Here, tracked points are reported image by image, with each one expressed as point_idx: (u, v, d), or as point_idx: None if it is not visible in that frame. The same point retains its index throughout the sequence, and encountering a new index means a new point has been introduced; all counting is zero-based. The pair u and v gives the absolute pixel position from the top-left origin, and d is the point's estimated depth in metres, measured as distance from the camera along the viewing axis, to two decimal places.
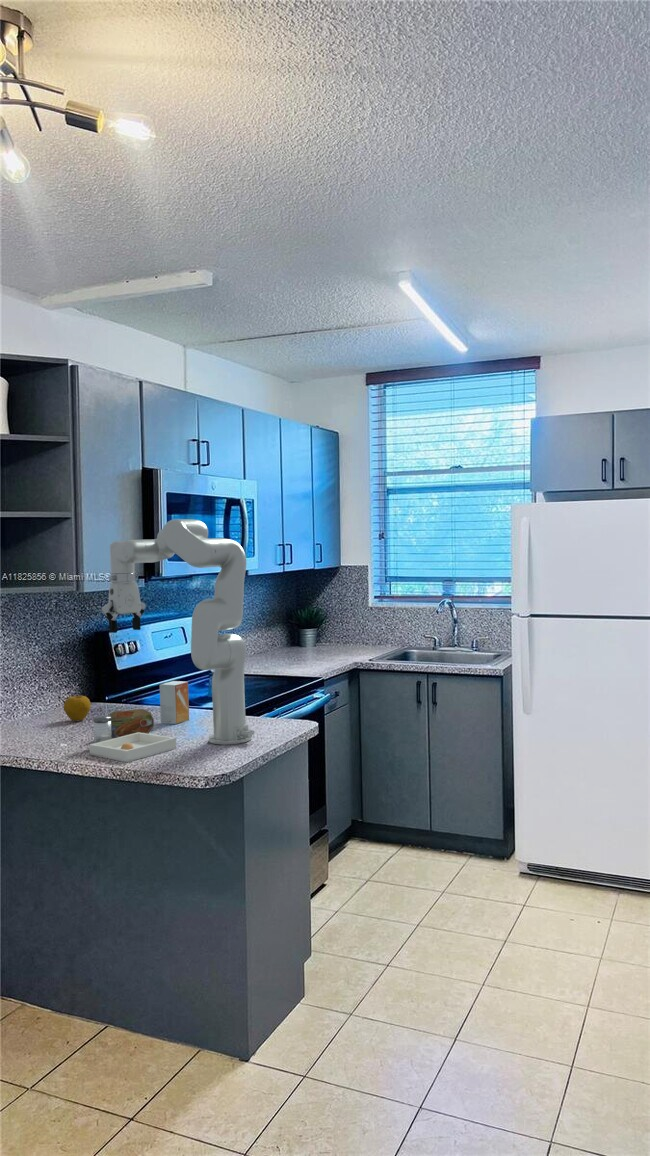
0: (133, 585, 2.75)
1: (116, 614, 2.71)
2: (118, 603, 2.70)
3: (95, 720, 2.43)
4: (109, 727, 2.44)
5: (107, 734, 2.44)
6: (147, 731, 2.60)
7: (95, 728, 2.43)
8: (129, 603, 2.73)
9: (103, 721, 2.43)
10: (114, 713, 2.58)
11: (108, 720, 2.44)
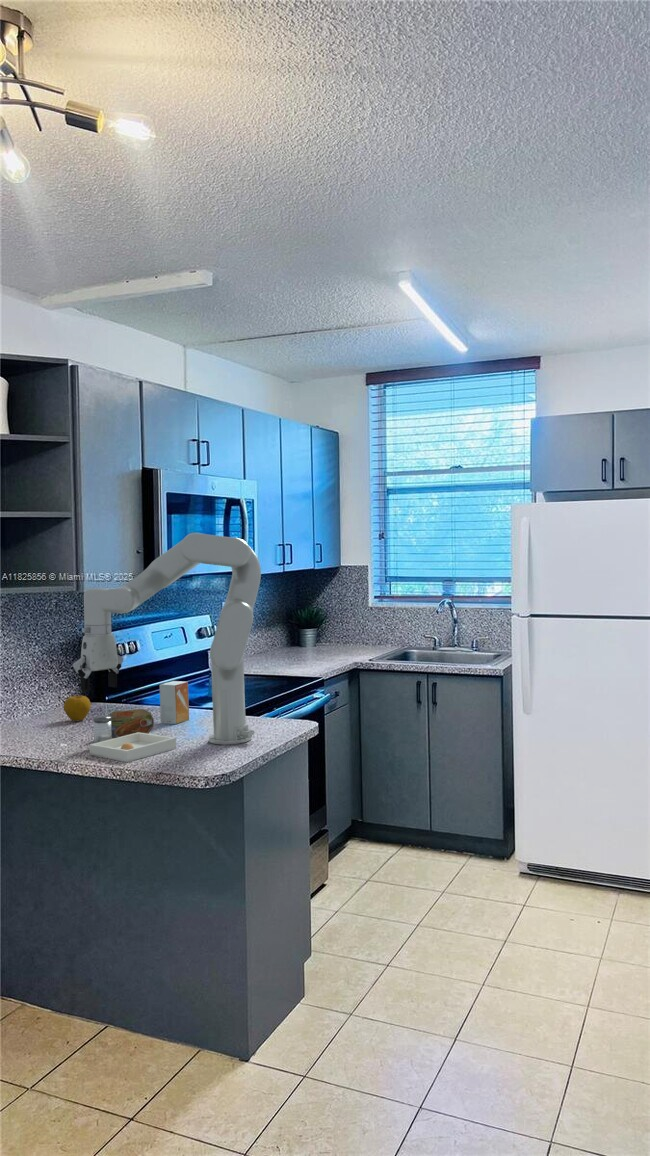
0: (110, 637, 2.45)
1: (89, 671, 2.40)
2: (91, 659, 2.40)
3: (95, 720, 2.43)
4: (109, 727, 2.44)
5: (107, 734, 2.44)
6: (147, 731, 2.60)
7: (95, 728, 2.43)
8: (104, 658, 2.43)
9: (103, 721, 2.43)
10: (114, 713, 2.58)
11: (108, 720, 2.44)
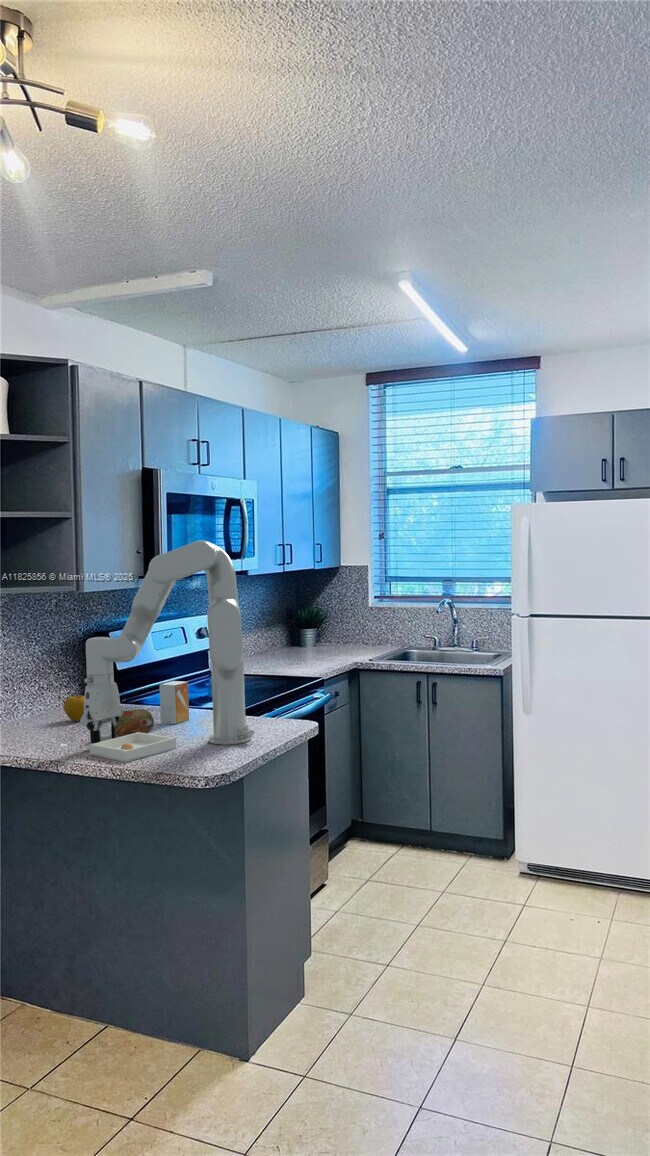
0: (112, 686, 2.45)
1: (96, 722, 2.42)
2: (94, 709, 2.40)
3: None
4: (109, 727, 2.44)
5: (107, 734, 2.44)
6: (147, 731, 2.60)
7: None
8: (107, 707, 2.43)
9: (103, 721, 2.43)
10: None
11: (108, 720, 2.44)
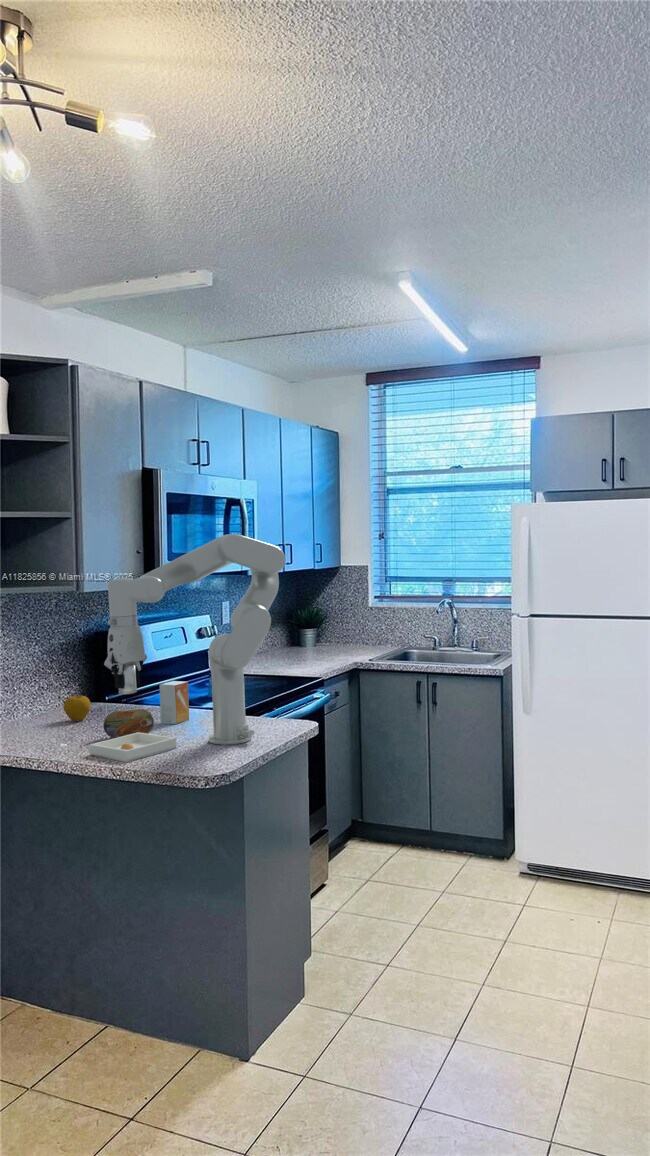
0: (136, 629, 2.37)
1: (121, 666, 2.34)
2: (119, 651, 2.32)
3: None
4: (134, 671, 2.36)
5: (131, 677, 2.36)
6: (147, 731, 2.60)
7: None
8: (131, 650, 2.35)
9: (127, 664, 2.35)
10: (114, 713, 2.58)
11: (132, 663, 2.36)
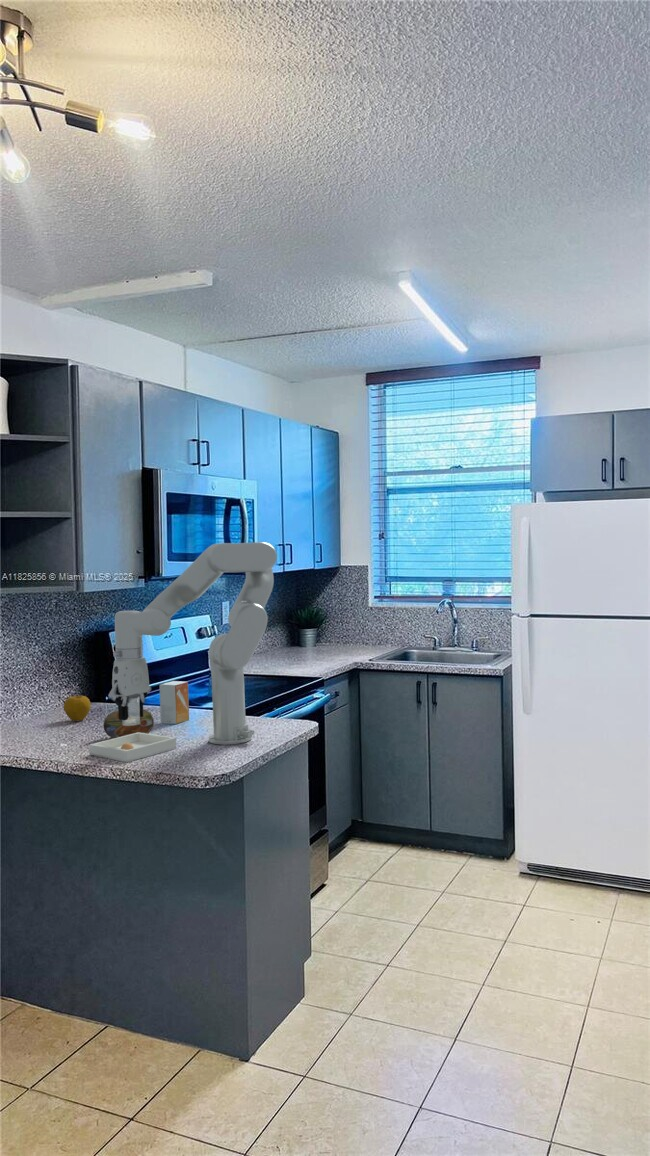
0: (141, 661, 2.39)
1: (125, 698, 2.35)
2: (123, 684, 2.33)
3: None
4: (137, 703, 2.38)
5: (135, 709, 2.37)
6: (147, 731, 2.60)
7: None
8: (136, 683, 2.37)
9: (131, 696, 2.36)
10: (114, 713, 2.58)
11: (136, 695, 2.37)
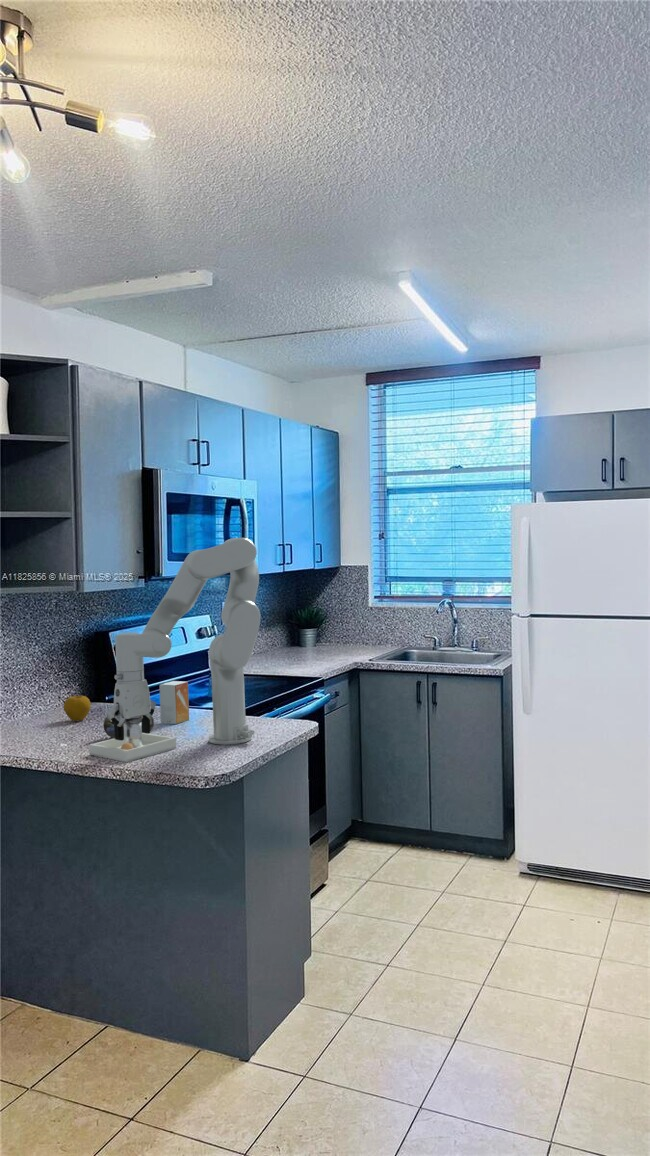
0: (142, 683, 2.39)
1: (123, 719, 2.35)
2: (125, 706, 2.34)
3: (125, 721, 2.37)
4: (140, 728, 2.38)
5: (137, 735, 2.37)
6: None
7: (125, 729, 2.37)
8: (137, 705, 2.37)
9: (134, 722, 2.37)
10: None
11: (139, 721, 2.38)
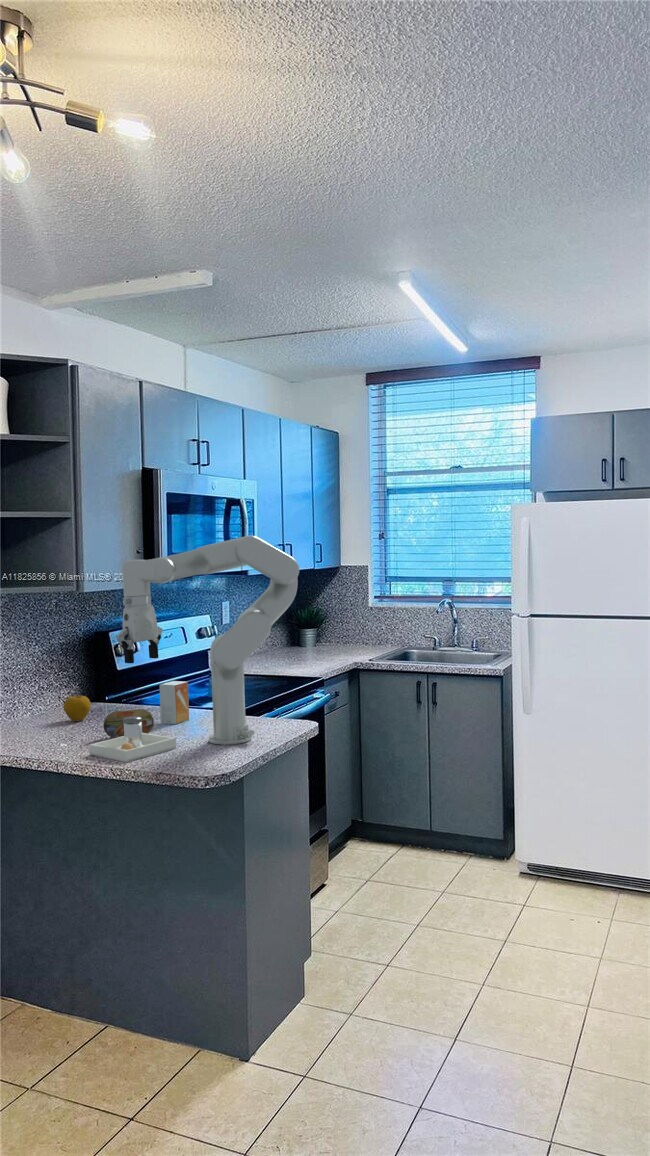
0: (150, 608, 2.45)
1: (132, 642, 2.40)
2: (134, 630, 2.40)
3: (125, 721, 2.37)
4: (140, 728, 2.38)
5: (137, 735, 2.37)
6: (147, 731, 2.60)
7: (125, 729, 2.37)
8: (146, 629, 2.43)
9: (134, 722, 2.37)
10: (114, 713, 2.58)
11: (139, 721, 2.38)
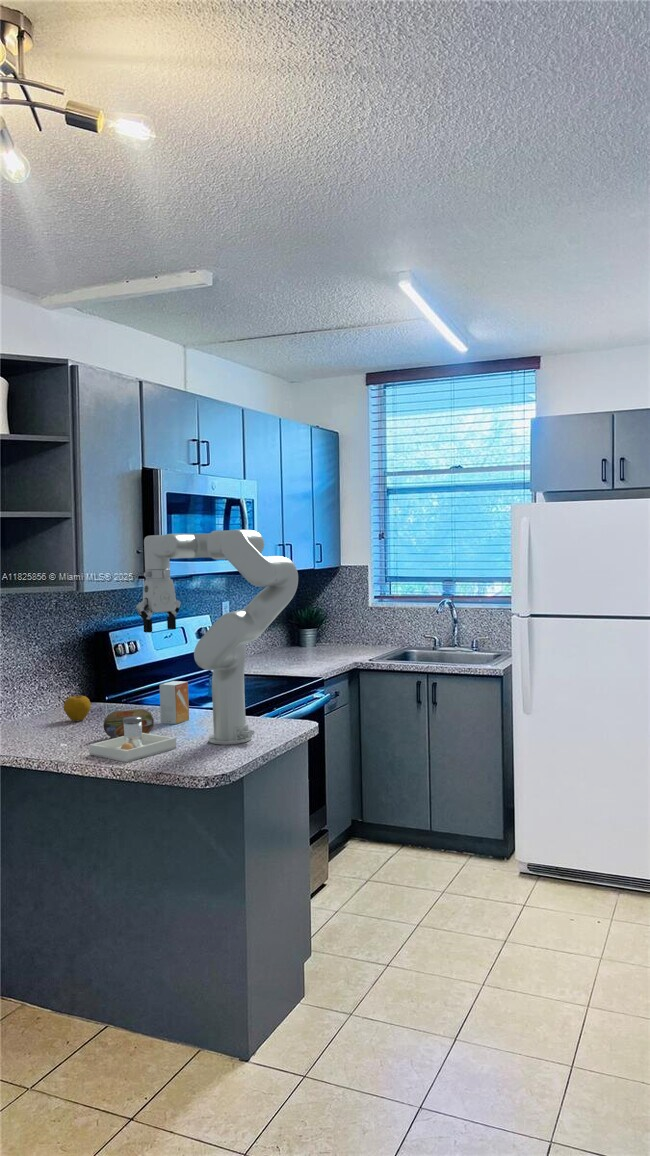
0: (169, 581, 2.59)
1: (151, 613, 2.55)
2: (153, 601, 2.54)
3: (125, 721, 2.37)
4: (140, 728, 2.38)
5: (137, 735, 2.37)
6: (147, 731, 2.60)
7: (125, 729, 2.37)
8: (164, 601, 2.58)
9: (134, 722, 2.37)
10: (114, 713, 2.58)
11: (139, 721, 2.38)
